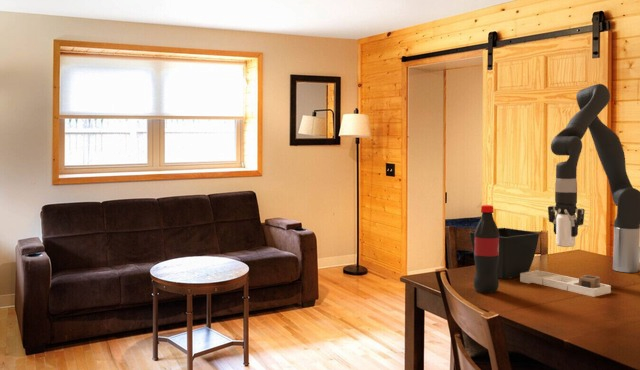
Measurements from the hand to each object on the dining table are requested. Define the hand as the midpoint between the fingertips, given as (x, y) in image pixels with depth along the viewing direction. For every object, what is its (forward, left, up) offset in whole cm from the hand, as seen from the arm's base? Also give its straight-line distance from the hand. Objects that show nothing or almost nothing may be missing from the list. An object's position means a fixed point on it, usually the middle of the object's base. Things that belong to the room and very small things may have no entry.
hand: (565, 235), depth 228 cm
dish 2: (+11, +7, -17) cm, 21 cm away
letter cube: (+11, +17, -16) cm, 26 cm away
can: (0, 0, -4) cm, 4 cm away
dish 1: (+11, -3, -17) cm, 20 cm away
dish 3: (+11, +17, -17) cm, 27 cm away
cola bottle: (+37, -5, -17) cm, 41 cm away
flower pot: (+12, -19, -17) cm, 28 cm away
